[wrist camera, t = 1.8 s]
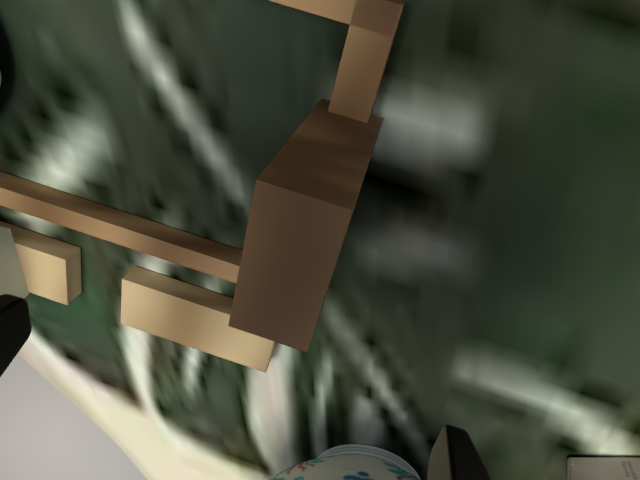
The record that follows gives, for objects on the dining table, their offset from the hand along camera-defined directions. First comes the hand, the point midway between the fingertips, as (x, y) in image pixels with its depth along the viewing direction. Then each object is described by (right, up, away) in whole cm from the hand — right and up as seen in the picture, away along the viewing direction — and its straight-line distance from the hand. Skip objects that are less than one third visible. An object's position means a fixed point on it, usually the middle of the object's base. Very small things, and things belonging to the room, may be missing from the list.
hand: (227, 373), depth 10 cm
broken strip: (-9, +1, +16) cm, 18 cm away
